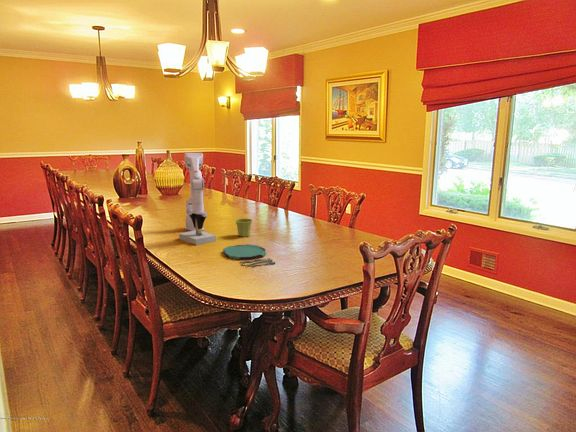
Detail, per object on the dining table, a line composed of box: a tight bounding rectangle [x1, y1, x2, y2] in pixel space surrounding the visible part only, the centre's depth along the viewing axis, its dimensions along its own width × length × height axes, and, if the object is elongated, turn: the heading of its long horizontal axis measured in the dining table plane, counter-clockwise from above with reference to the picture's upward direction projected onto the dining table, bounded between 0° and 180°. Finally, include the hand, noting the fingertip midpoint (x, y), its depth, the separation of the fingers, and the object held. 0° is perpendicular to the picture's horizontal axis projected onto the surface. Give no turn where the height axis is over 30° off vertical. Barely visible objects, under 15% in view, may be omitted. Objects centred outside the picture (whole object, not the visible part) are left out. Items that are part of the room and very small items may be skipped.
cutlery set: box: [222, 243, 276, 268], centre depth 196 cm, size 20×30×2 cm, turn 23°
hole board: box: [178, 230, 217, 246], centre depth 223 cm, size 16×12×3 cm
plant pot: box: [234, 218, 254, 238], centre depth 233 cm, size 9×9×9 cm
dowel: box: [195, 219, 203, 235], centre depth 221 cm, size 3×3×8 cm
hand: (198, 228), depth 221 cm, fingers closed on dowel, 3 cm apart
